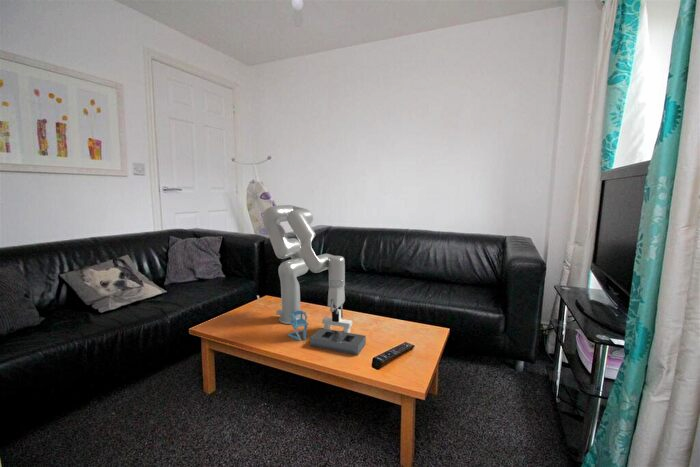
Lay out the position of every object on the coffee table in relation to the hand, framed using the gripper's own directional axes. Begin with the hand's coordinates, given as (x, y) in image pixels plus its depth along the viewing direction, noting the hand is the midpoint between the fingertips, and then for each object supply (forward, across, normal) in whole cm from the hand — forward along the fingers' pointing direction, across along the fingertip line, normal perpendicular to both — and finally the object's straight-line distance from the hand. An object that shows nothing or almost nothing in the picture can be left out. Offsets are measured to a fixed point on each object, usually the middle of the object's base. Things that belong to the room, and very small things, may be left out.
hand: (337, 319), depth 153 cm
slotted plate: (+6, +13, +6) cm, 15 cm away
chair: (+6, +12, -14) cm, 19 cm away
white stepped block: (+6, 0, 0) cm, 6 cm away
